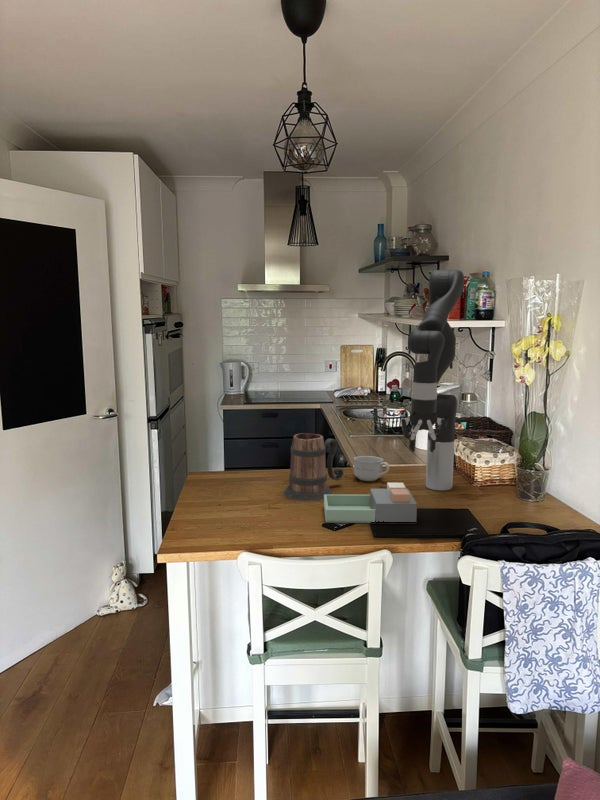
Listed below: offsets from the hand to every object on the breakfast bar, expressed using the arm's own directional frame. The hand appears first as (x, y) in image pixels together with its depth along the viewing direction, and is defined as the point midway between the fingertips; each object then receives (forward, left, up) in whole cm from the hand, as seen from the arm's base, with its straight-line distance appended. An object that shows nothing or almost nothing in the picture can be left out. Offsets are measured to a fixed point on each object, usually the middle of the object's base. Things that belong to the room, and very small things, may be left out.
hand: (421, 451), depth 176 cm
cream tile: (0, -8, -13) cm, 15 cm away
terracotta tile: (+7, -8, -13) cm, 17 cm away
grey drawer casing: (+3, -9, -19) cm, 22 cm away
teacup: (-32, -11, -20) cm, 40 cm away
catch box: (+3, -23, -19) cm, 30 cm away
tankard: (-19, -32, -20) cm, 42 cm away
